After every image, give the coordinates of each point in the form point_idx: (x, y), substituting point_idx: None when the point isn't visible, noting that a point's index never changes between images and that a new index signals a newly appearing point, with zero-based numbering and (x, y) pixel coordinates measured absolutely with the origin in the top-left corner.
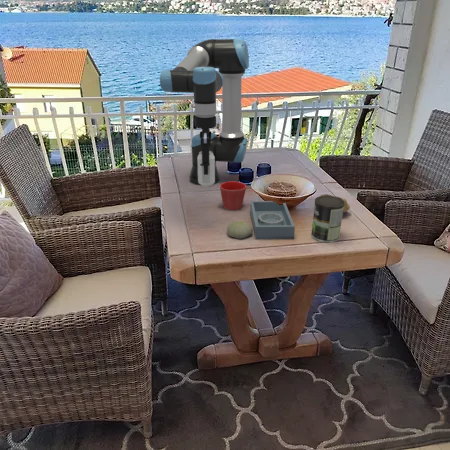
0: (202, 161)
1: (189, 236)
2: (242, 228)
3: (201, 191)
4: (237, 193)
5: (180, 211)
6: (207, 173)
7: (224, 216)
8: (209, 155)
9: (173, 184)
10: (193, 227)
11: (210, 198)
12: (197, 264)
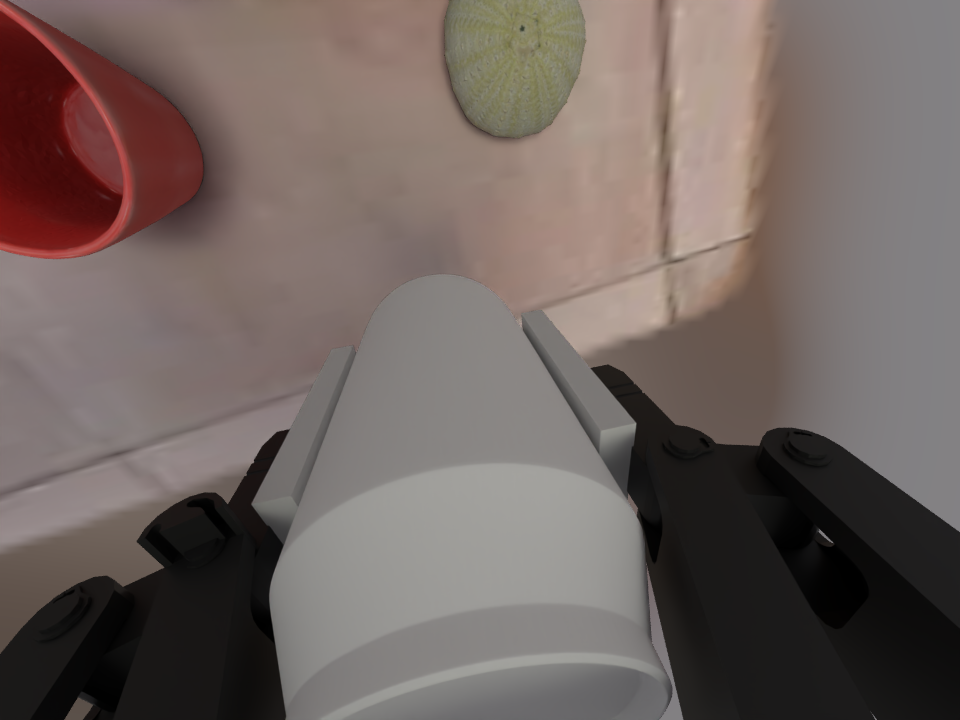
0: (841, 572)
1: (543, 304)
2: (573, 14)
3: (22, 371)
4: (99, 75)
5: None
6: (623, 377)
7: (308, 182)
8: (629, 616)
9: (34, 502)
10: None
11: (93, 305)
12: (745, 228)
